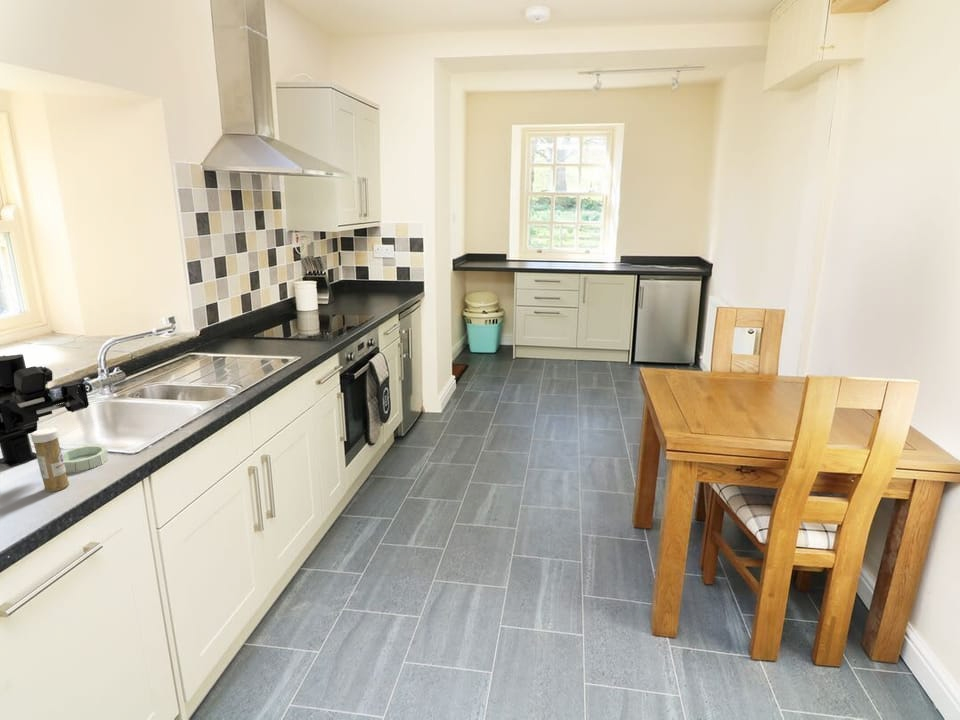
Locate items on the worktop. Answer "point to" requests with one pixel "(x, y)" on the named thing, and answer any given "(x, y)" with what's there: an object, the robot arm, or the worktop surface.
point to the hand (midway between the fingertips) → (61, 411)
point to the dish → (84, 457)
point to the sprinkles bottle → (50, 459)
